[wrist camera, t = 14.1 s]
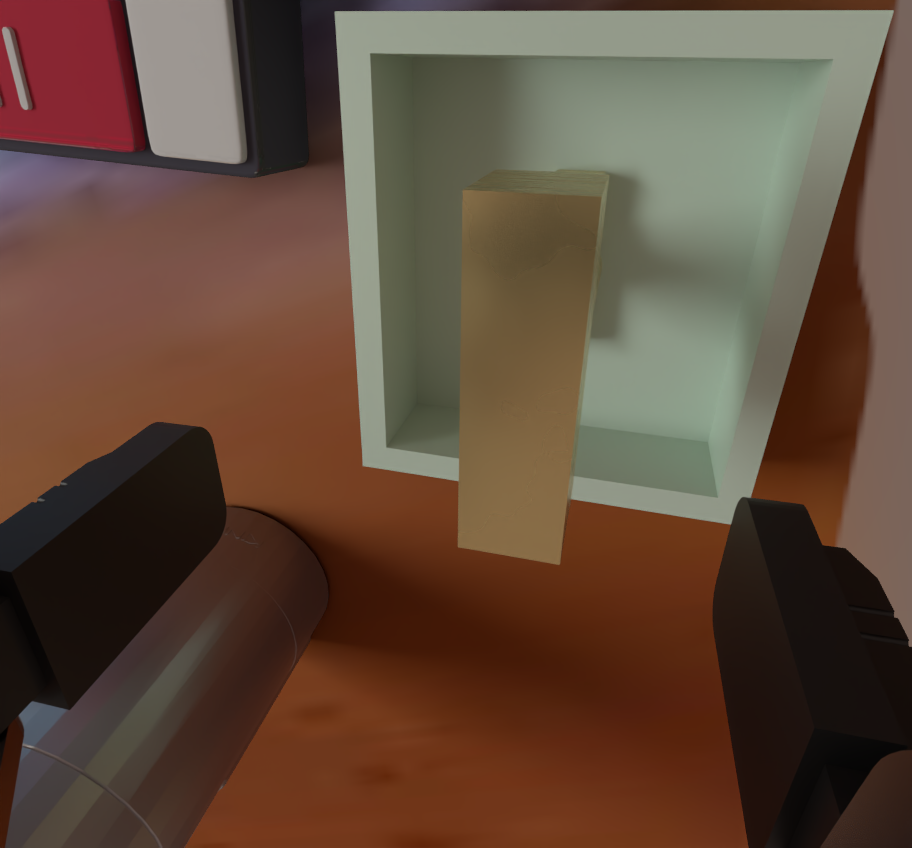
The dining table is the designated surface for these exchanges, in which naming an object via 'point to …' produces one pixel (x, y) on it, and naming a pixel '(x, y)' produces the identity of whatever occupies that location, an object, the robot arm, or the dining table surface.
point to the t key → (525, 353)
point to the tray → (605, 219)
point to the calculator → (156, 83)
